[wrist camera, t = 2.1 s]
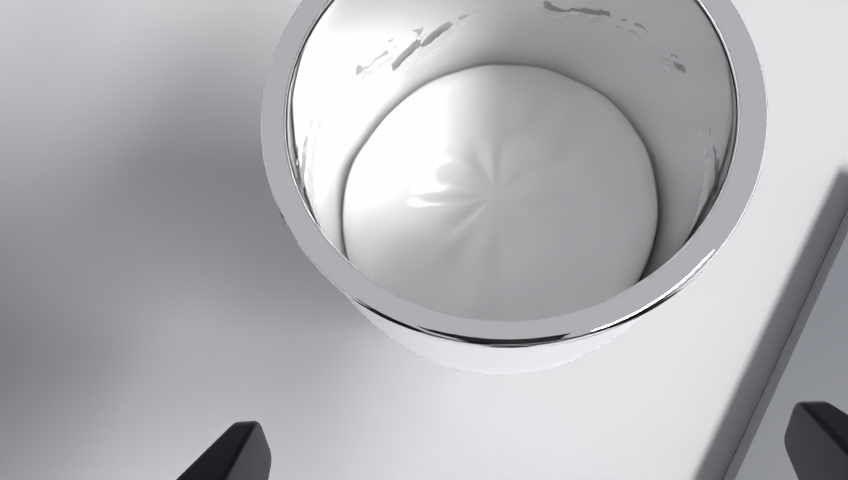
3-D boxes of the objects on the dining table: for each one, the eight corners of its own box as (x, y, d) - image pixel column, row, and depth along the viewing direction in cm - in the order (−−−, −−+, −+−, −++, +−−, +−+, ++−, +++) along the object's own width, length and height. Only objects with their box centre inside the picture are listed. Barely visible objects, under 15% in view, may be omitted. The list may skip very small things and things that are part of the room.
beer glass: (368, 300, 22) (142, 131, 7) (480, 175, 23) (470, -191, 8) (503, 421, 20) (545, 507, 6) (618, 280, 21) (908, 47, 7)
